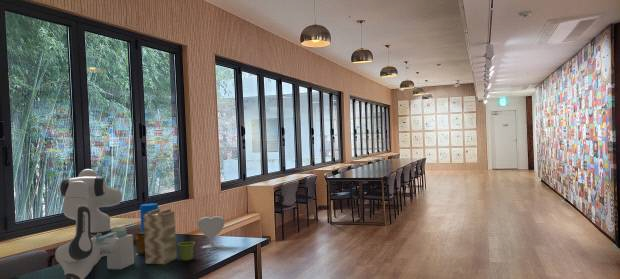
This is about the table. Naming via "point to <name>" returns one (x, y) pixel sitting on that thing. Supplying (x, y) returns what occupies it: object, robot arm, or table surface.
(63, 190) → the robot arm
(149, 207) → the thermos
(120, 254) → the white rectangular block
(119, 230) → the teal green bar
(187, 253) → the plant pot
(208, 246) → the heart sculpture
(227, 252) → the table surface
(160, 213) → the zigzag patterned block
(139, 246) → the condiment
